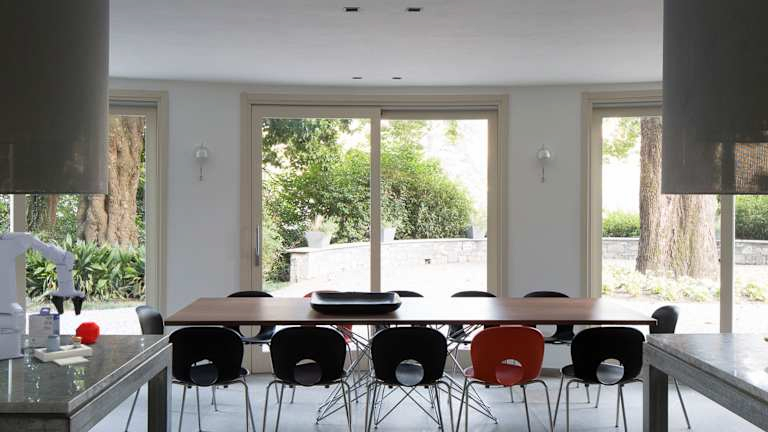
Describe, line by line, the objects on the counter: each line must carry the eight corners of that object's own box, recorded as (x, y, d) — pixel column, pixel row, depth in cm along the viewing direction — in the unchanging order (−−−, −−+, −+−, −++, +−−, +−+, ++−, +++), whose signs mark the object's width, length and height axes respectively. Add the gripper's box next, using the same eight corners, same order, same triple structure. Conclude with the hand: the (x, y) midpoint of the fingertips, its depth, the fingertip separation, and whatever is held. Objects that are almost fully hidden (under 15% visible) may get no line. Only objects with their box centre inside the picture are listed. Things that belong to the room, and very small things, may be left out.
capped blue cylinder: (48, 359, 251) (48, 336, 250) (44, 357, 254) (44, 335, 254) (61, 357, 253) (61, 335, 253) (57, 355, 257) (57, 333, 257)
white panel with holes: (44, 361, 246) (44, 354, 246) (34, 356, 255) (34, 349, 255) (92, 355, 256) (92, 348, 256) (81, 350, 266) (81, 343, 266)
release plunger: (73, 351, 256) (73, 338, 256) (70, 349, 259) (70, 337, 259) (82, 349, 259) (82, 337, 258) (80, 348, 261) (79, 336, 261)
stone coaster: (60, 365, 240) (60, 364, 240) (52, 361, 247) (52, 359, 247) (88, 362, 246) (88, 360, 246) (80, 357, 253) (80, 356, 253)
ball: (79, 340, 285) (79, 321, 285) (100, 340, 286) (100, 321, 286) (74, 344, 277) (74, 324, 277) (96, 343, 278) (96, 324, 278)
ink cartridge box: (60, 344, 277) (60, 307, 277) (53, 347, 271) (53, 309, 271) (35, 344, 277) (34, 307, 277) (27, 347, 272) (27, 309, 271)
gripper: (88, 278, 284) (92, 311, 286) (56, 278, 288) (60, 311, 290) (77, 283, 278) (81, 317, 280) (44, 282, 281) (48, 316, 283)
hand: (69, 314), depth 284 cm, fingers open, 7 cm apart
